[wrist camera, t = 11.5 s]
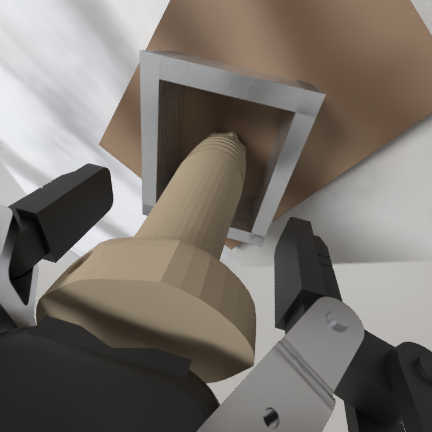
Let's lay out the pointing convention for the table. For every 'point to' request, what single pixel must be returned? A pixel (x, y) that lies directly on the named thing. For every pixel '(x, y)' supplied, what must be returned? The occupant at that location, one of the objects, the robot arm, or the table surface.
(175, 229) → the handle
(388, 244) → the table surface
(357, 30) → the walnut board
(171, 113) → the collar
